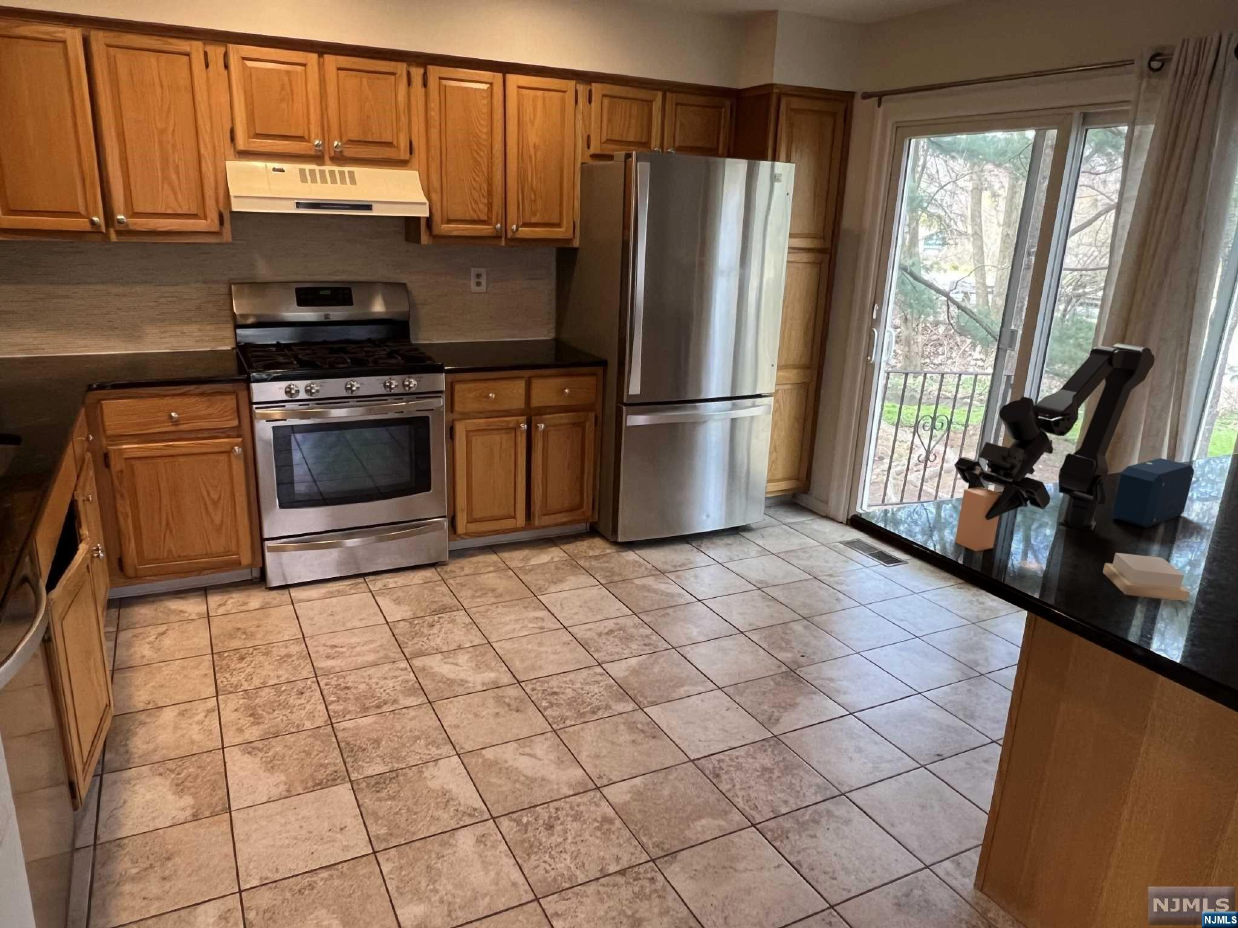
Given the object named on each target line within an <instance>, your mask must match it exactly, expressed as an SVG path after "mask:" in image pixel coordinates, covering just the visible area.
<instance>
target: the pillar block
mask: <svg viewBox="0 0 1238 928" xmlns="http://www.w3.org/2000/svg"><path fill="white" fill-rule="evenodd" d="M1001 495H1002V493H1000V492H997V491H995V490H992V489H989V488H986V487H985V488H983V487H977V488H970V489H968V488H964V490H963V495H962V498H961V499H962V500H961V506H960V511H959V512H960V513H959V516H958V521H957V522H958V523H957V527H956V531H955V532H956V533H955V539H954V543H955V544H958V545H960V546H962V547H965V548H968V549H969V550H972V551H975V552H979V551H985V550H989V549H993V548H994V544H995V540H996V533H997V528H998V523H999V517H1000V515H999V516H997V517H995V518H992V519H990V520H987V519H986V518H985V516H986V514H987V512H988V511H989V509H990V508H991V507H992V506H993V505H994V503H995V502H996V501H997V500H998V498H999V497H1000V496H1001Z"/></svg>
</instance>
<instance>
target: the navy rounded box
mask: <svg viewBox="0 0 1238 928" xmlns="http://www.w3.org/2000/svg"><path fill="white" fill-rule="evenodd" d="M1179 432H1180V429H1177V432H1176V436H1175V440H1174V444H1173V448H1172V452H1171V456H1170V459H1165V458H1161V457H1158V458H1155V459H1152V460H1147V461H1144V462H1140V463H1135V464H1131V465H1128V466H1126V467H1125V468H1124V469H1123V470H1121V475H1120V477H1119V482H1118V486H1117V490H1116V493H1115V494H1116V495H1115V500H1114V503H1113V506H1112V507H1113V508H1112V512H1111V516H1112V517H1113V518H1114V519H1115V520H1117V519H1118V521H1121V520H1122V522H1124V521H1125V523H1129V524H1131V523H1132V524H1131V525H1134V524H1135V525H1134V526H1138V525H1139V526H1138V527H1141V526H1142V527H1141V528H1144V527H1145V528H1144V529H1147V528H1150V527H1153V526H1156V525H1158V523H1159V524H1161V523H1164V522H1167V521H1169V520H1172V519H1175V518H1178V517H1179V516H1181V515H1182V514H1184V512H1185V509H1186V505H1187V500H1188V498H1189V493H1190V489H1191V485H1192V483H1193V477H1194V474H1195V469H1194V468H1193V466H1192V465H1191V464H1186V463H1182V462H1178V461H1174V460H1173V457H1174V451H1175V449H1176V442H1177V440H1178V435H1179ZM1166 520H1167V521H1166ZM1155 524H1156V525H1155ZM1152 525H1153V526H1152ZM1149 526H1150V527H1149Z"/></svg>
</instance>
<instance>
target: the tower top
mask: <svg viewBox="0 0 1238 928" xmlns="http://www.w3.org/2000/svg"><path fill="white" fill-rule="evenodd" d="M1112 564H1113V566H1114V567H1115V568H1116V569H1117V570H1118V571H1119V572H1120V573H1121V574H1122V575H1123V576H1124V577H1125V578H1126V579H1127V580H1128V581H1130V582H1131V583H1135V584H1144V585H1153V586H1162V587H1171V588H1181V585H1182V584H1183V580H1184V576H1185V575H1184V574H1183V573H1182V572H1181V571H1179V570H1178V569H1177V568H1175V566H1173V565H1172V564H1170V563H1169V562H1168V560H1166V559H1164V558H1163V557H1159V556H1158V557H1156V556H1147V555H1139V554H1130V553H1122V552H1115V553H1114V557H1113V561H1112Z"/></svg>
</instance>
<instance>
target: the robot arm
mask: <svg viewBox="0 0 1238 928" xmlns="http://www.w3.org/2000/svg"><path fill="white" fill-rule="evenodd" d="M1155 360H1156V359H1155V355H1154V354H1153V353H1152V350H1151V349H1150V347H1145V346H1138V345H1132V344H1125V343H1121V342H1120V343H1119V342H1118V343H1115V344H1114V345H1113V346H1112V345H1111V346H1104V345H1098V346H1094V347H1093V348H1092V349H1091V351H1090V352H1089V356H1088V358H1086V360H1085V361H1084V362H1083V363H1082V364H1081V365H1080V366H1079V367H1078V369H1077V370H1075V372H1074V373H1073V374H1072V375H1071V376H1070V378H1069V379H1068V380H1067V381H1066V382H1065V383H1064V384H1063V386H1062V387H1061V388H1060V389H1059V390H1057V391H1056V392H1055V393H1054V392H1053V393H1051V394H1048V395H1045V396H1043V398H1041V400H1039V401H1038V402H1037V403H1035V402H1034V400H1033V398H1032V397H1029V396H1024V395H1022V396H1021V397H1020V399H1016V400H1013V401H1011V402H1008V403H1006V404H1005V405H1003V406H1002V407H1001V408H1000V410H999V417H1000V420H1001V422H1002V424H1003V426H1004V428H1005V429H1006V432H1007V434H1008V436H1009V437H1010V438H1011V439H1012V440H1014V441H1013V442H1012V443H1011V444H1010V445H1009V447H1007V446H1002V445H999V444H995V443H992V442H988V441H985V443H984V445H983V447H982V449H981V451H980V452H979V455H978V457H979V458H980V459H984V460H985V461H987V462H986V467H987V468H988V469H990V471H987V470H985V469H984V468H983V467H982V465H981V463H980V461H979V460H976V459H974V458H973V459H972V458H969V457H967V456H963V457H962V456H961V457H959V458H958V460H957V461H956V462H955V463H954V464H953V465H954V467H955V469H956V472H957V473H958V475H959V476H960V478H961V480H962V481H963V482H964V483H967V484H968V486H967V489H970V488H977V487H983V488H986V487H985V485H986V484H987V483H990V484H993V485H996V486H999V487H1001V488H1003V490H1002V493H1001V494H1002V495H1001V496H1000V497H999V498H998V500H997V501H996V502H995V503H994V505H993V506H992V507H991V508H990V509H989V511H988V512H987V514H986V516H985V518H986V519H987V520H990V519H992V518H995V517H997V516H999V517H1000V516H1001V515H1003V514H1005V513H1008V512H1011V511H1012V510H1016V509H1019V508H1022V507H1023V508H1027V507H1028V503H1029V504H1030V506H1031V507H1034V508H1037V509H1039V510H1045V509H1046V507H1048V505H1049V504H1050V503H1051V495H1050V494H1049V491H1048V490H1047V488H1046V486H1045V483H1044V482H1043V481H1041V480H1037V479H1034V478H1032V477H1028V476H1027V475H1034V473H1035V472H1036V470H1035V468H1034V466H1035V465H1036V464H1037V463H1038V462H1039V460H1040V459H1041V457H1042V456H1043V455H1044V454H1045V453H1046V454H1049V455H1052V454H1053V453H1054V447H1053V440H1052V439H1050V438H1049V436H1048V434H1049V435H1053V436H1057V437H1064V436H1066V435H1068V434H1069V432H1071V430H1072V429H1073V428H1074V426H1075V424H1076V423H1077V421H1078V419H1079V410H1080V407H1081V406H1082V405H1083V404H1084V402H1085V401H1086V400H1087V399H1088V398H1089V396H1090V395H1091V394H1092V393H1093V392H1094V391H1095V390H1096V389H1097V388H1098V386H1099V385H1100V384H1101V383H1102V382H1103V381H1104V386H1103V388H1102V392H1101V394H1100V397H1099V398H1098V401H1097V404H1096V406H1095V409H1094V411H1093V414H1092V416H1091V420H1090V422H1089V424H1088V428H1087V430H1086V433H1085V435H1084V438H1083V440H1082V442H1081V445H1080V447H1079V448H1078V449H1077V450H1076V451H1074V452H1073V453H1070V452H1068V453H1067V454H1066V455H1064V456H1065V458H1064V459H1063V463H1062V465H1061V467H1060V469H1059V472H1058V477H1057V478H1058V493H1060V494H1064V495H1066V496H1067V500H1066V503H1065V508H1064V512H1063V513H1064V514H1062V516H1061V517H1060V519H1059V521H1058V524H1059V525H1062V526H1065V527H1071V528H1075V529H1081V530H1083V531H1089V532H1092V531H1094V528H1095V526H1096V523H1097V522H1096V521H1095V520H1094V519H1095V515H1096V511H1097V506H1098V505H1107V503H1108V502H1109V501H1110V499H1111V496H1112V494H1113V492H1112V490H1111V487H1110V485H1109V483H1108V481H1107V476H1108V473H1109V467H1108V463H1107V459H1106V454H1107V453H1108V450H1109V447H1110V444H1111V441H1112V439H1113V437H1114V434H1115V432H1116V429H1117V427H1118V424H1119V421H1120V419H1121V417H1122V414H1123V412H1124V409H1125V407H1126V404H1127V402H1128V400H1129V397H1130V394H1131V392H1132V391H1133V389H1135V388H1136V387H1137V386H1139V385H1140V384H1141V383H1143V382H1144V381H1145V380H1146V378H1147V376H1148V374H1149V372H1150V370H1152V368H1153V366H1154V364H1155ZM1034 403H1035V404H1034Z"/></svg>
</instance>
